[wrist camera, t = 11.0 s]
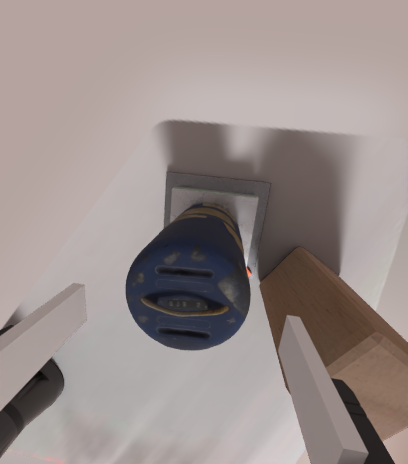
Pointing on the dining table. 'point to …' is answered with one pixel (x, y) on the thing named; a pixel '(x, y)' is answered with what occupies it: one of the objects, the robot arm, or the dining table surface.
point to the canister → (191, 281)
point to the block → (342, 336)
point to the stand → (222, 204)
